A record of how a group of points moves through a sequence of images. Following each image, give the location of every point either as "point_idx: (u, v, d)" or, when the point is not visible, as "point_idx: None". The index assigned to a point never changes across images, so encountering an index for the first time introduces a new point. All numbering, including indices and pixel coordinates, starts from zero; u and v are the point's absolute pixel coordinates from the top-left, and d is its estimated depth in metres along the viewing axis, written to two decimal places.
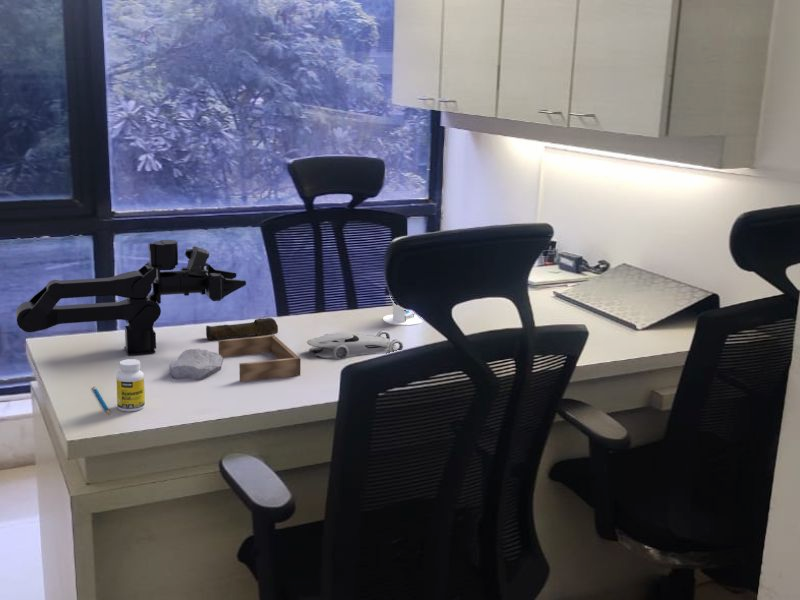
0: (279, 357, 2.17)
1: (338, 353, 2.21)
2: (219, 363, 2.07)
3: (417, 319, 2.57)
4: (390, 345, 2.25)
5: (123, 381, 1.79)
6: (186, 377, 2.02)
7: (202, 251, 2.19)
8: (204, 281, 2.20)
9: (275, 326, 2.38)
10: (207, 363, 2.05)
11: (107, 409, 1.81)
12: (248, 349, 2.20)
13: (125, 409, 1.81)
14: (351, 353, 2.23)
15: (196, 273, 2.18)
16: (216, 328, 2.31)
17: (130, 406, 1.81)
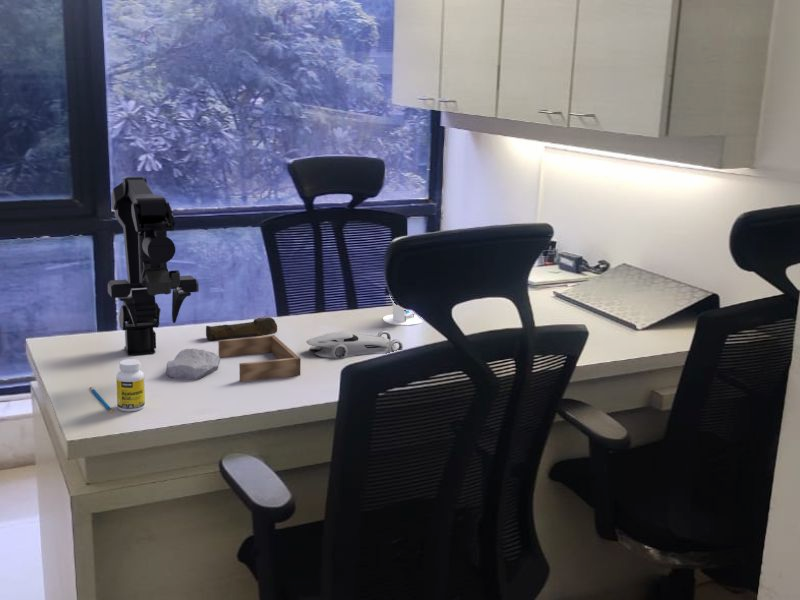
0: (279, 357, 2.17)
1: (337, 352, 2.21)
2: (216, 363, 2.07)
3: (417, 319, 2.57)
4: (389, 345, 2.25)
5: (123, 381, 1.79)
6: (183, 377, 2.02)
7: (151, 287, 1.90)
8: (140, 282, 1.96)
9: (274, 325, 2.39)
10: (204, 363, 2.05)
11: (110, 409, 1.81)
12: (248, 349, 2.20)
13: (125, 409, 1.81)
14: (350, 353, 2.23)
15: (141, 275, 1.93)
16: (216, 328, 2.31)
17: (130, 406, 1.81)
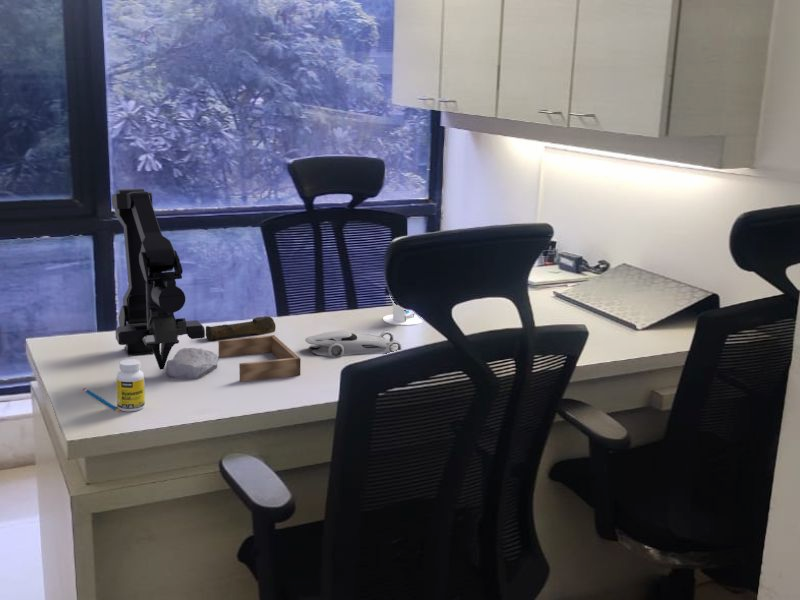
0: (279, 357, 2.17)
1: (334, 351, 2.22)
2: (215, 362, 2.08)
3: (417, 319, 2.57)
4: (388, 346, 2.25)
5: (123, 381, 1.79)
6: (183, 376, 2.02)
7: (157, 336, 1.93)
8: (147, 328, 1.99)
9: (273, 324, 2.40)
10: (204, 362, 2.06)
11: (116, 408, 1.82)
12: (248, 349, 2.20)
13: (125, 409, 1.81)
14: (347, 352, 2.24)
15: (149, 322, 1.96)
16: (217, 328, 2.31)
17: (130, 406, 1.81)
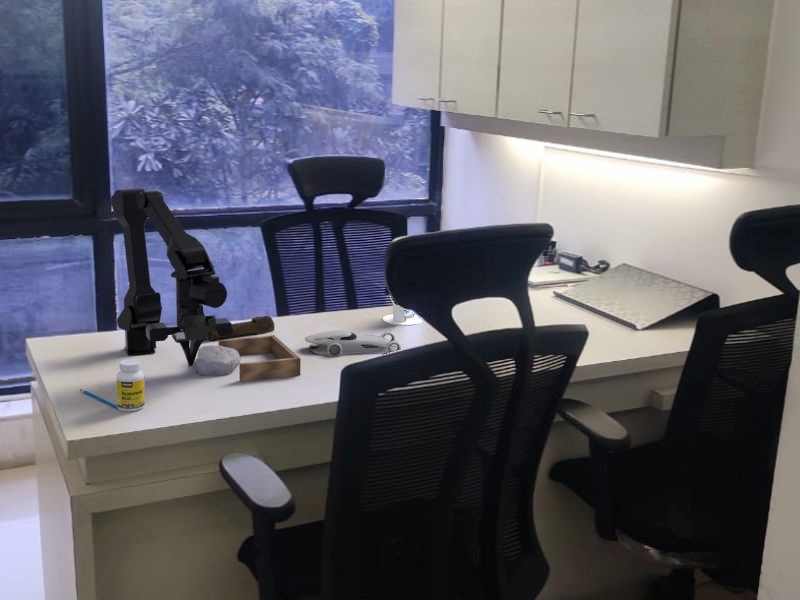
0: (279, 357, 2.17)
1: (332, 350, 2.23)
2: (238, 357, 2.12)
3: (417, 319, 2.57)
4: (387, 346, 2.25)
5: (123, 381, 1.79)
6: (214, 373, 2.05)
7: (188, 333, 1.95)
8: (177, 325, 2.01)
9: (272, 324, 2.40)
10: (230, 358, 2.09)
11: None
12: (248, 349, 2.20)
13: (125, 409, 1.81)
14: (346, 351, 2.24)
15: (179, 319, 1.99)
16: None
17: (130, 406, 1.81)
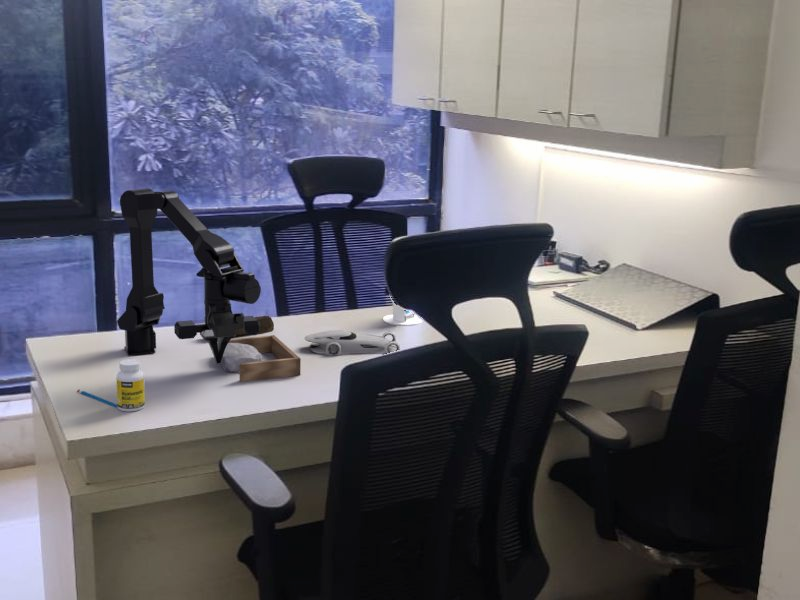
0: (279, 357, 2.17)
1: (331, 350, 2.23)
2: (258, 352, 2.16)
3: (417, 319, 2.57)
4: (386, 346, 2.24)
5: (123, 381, 1.79)
6: None
7: (217, 330, 1.98)
8: (205, 323, 2.04)
9: (271, 323, 2.40)
10: (253, 354, 2.13)
11: None
12: None
13: (125, 409, 1.81)
14: (345, 351, 2.24)
15: (207, 317, 2.02)
16: None
17: (130, 406, 1.81)
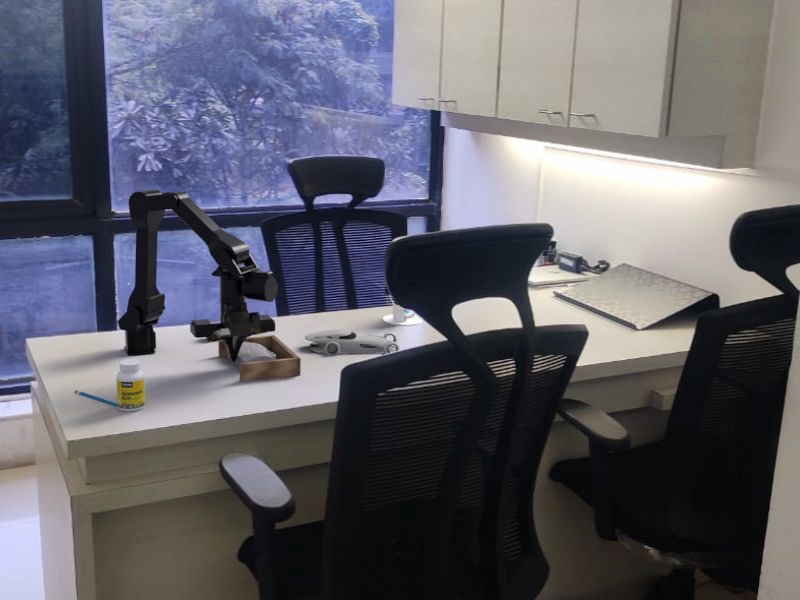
0: (279, 357, 2.17)
1: (331, 349, 2.24)
2: (268, 350, 2.18)
3: (417, 319, 2.57)
4: (385, 346, 2.24)
5: (123, 381, 1.79)
6: None
7: (233, 329, 1.99)
8: (221, 322, 2.06)
9: None
10: (265, 352, 2.15)
11: None
12: None
13: (125, 409, 1.81)
14: (345, 350, 2.25)
15: (223, 316, 2.03)
16: None
17: (130, 406, 1.81)
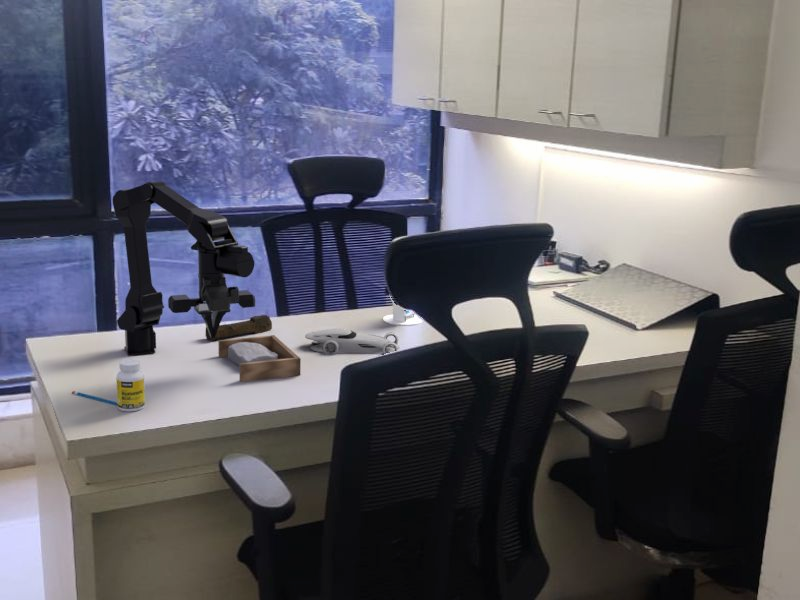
0: (279, 357, 2.17)
1: (329, 348, 2.25)
2: (269, 350, 2.19)
3: (417, 319, 2.57)
4: (384, 347, 2.24)
5: (123, 381, 1.79)
6: None
7: (211, 303, 1.96)
8: (200, 297, 2.02)
9: (270, 323, 2.41)
10: (266, 352, 2.15)
11: None
12: None
13: (125, 409, 1.81)
14: (343, 350, 2.25)
15: (201, 291, 2.00)
16: None
17: (130, 406, 1.81)
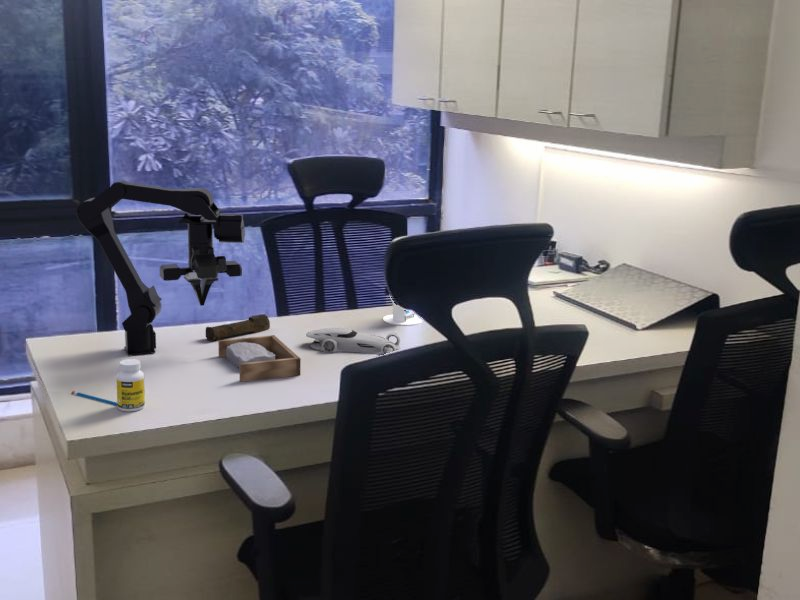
0: (279, 357, 2.17)
1: (328, 346, 2.26)
2: (267, 350, 2.18)
3: (417, 319, 2.57)
4: (382, 347, 2.24)
5: (123, 381, 1.79)
6: None
7: (200, 271, 2.08)
8: (189, 266, 2.14)
9: (268, 322, 2.42)
10: (264, 352, 2.15)
11: None
12: None
13: (125, 409, 1.81)
14: (342, 349, 2.26)
15: (191, 260, 2.11)
16: (218, 328, 2.30)
17: (130, 406, 1.81)
